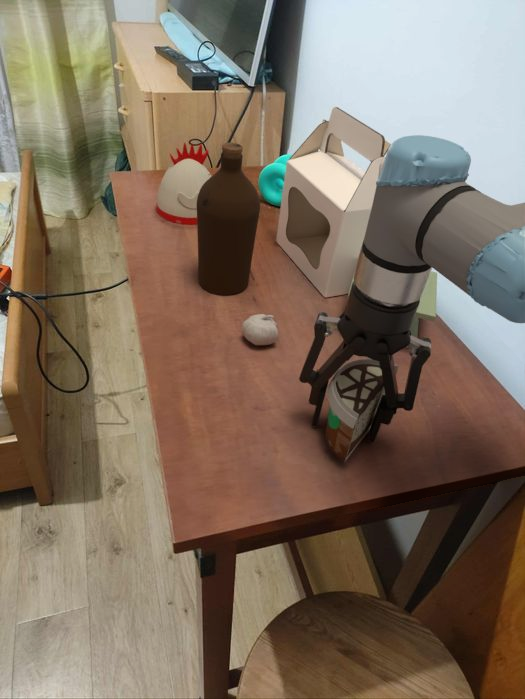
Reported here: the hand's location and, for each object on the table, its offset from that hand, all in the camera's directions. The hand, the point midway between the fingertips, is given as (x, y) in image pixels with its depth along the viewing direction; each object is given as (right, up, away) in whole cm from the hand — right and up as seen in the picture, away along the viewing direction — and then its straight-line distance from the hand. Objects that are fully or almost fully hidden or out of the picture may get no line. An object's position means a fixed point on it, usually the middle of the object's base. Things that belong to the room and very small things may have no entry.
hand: (343, 427), depth 70 cm
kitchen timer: (-28, +42, +46) cm, 68 cm away
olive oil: (-18, +23, +25) cm, 39 cm away
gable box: (+2, +28, +34) cm, 44 cm away
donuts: (-7, +47, +55) cm, 73 cm away
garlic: (-12, +12, +13) cm, 21 cm away
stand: (+10, +16, +21) cm, 28 cm away
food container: (0, 0, +1) cm, 1 cm away
